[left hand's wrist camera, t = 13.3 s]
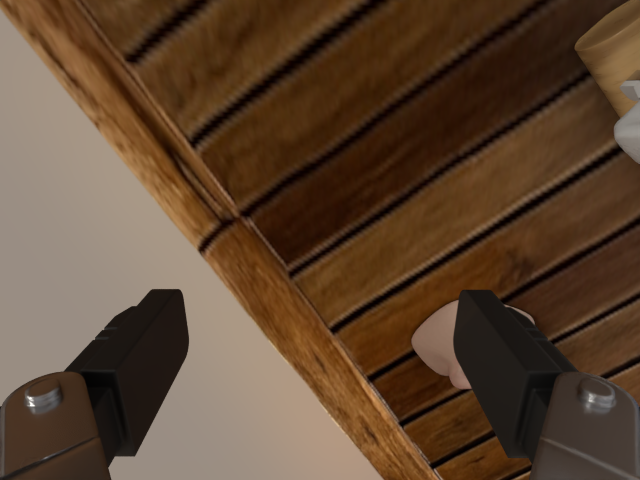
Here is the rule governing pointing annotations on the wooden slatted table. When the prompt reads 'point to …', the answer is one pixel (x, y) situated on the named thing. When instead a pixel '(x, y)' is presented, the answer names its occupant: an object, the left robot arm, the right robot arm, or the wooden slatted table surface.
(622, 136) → the right robot arm
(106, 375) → the left robot arm
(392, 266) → the wooden slatted table surface
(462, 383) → the anatomical model
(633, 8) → the rod
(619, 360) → the wooden slatted table surface
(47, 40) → the wooden slatted table surface
